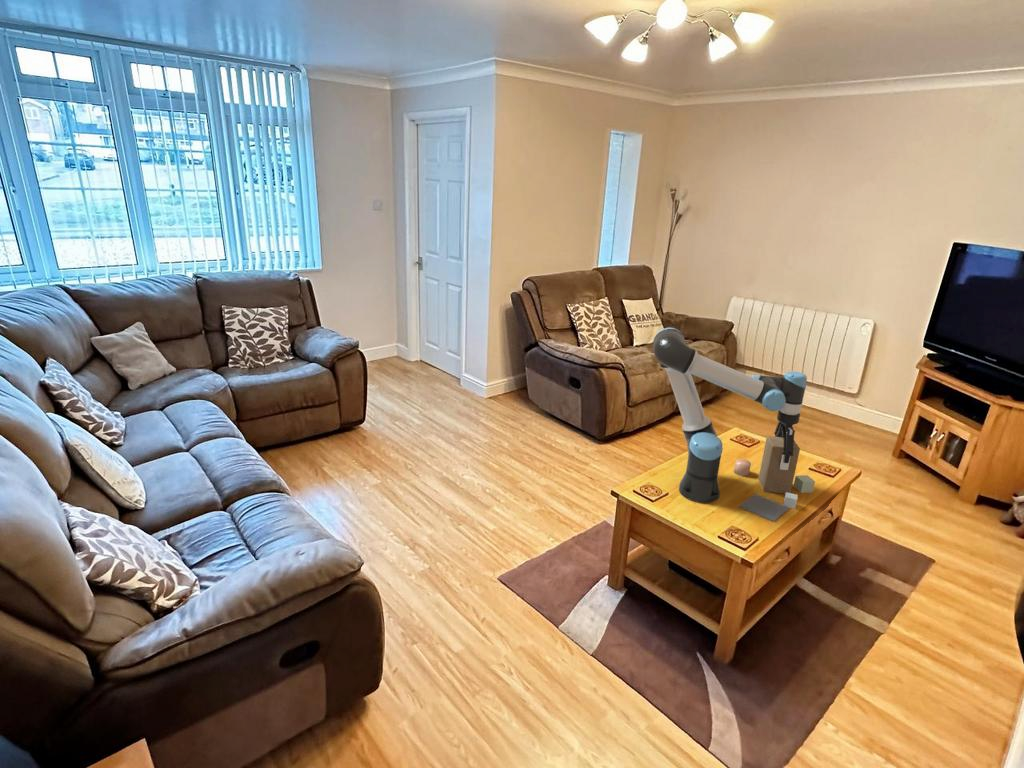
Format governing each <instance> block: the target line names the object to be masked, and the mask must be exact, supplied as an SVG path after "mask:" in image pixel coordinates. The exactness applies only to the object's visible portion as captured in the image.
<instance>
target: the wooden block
mask: <svg viewBox="0 0 1024 768" xmlns="http://www.w3.org/2000/svg"><path fill="white" fill-rule="evenodd" d="M800 451H801V450H800V447H799V445H798V444H797V442H796V441H795V440H794V447H793V456H791V457H790V462H789V467H788V470H782V469H780V465H781V460H782V453H784V438H783V437H775V436H773V435H772V436H771V435H767V436H766V437H765V443H764V448H763V452H762V457H761V458H762V459H761V463H760V469H759V474H758V482H759V483H760V485H761V488H762V491H763V492H768V493H775V494H784V495H785V494H786V492H787V493H791V492H792V487H793V485H794V480H795V474H796V470H797V464H798V459H799V456H800Z"/></svg>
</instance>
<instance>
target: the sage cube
mask: <svg viewBox="0 0 1024 768" xmlns="http://www.w3.org/2000/svg"><path fill="white" fill-rule="evenodd" d="M815 483H816V481H815V480H814V479H813V478H811V477H810V476H809V475H808V474H805V475H804V474H803V475H794V480H793V484H792V487H793V488H794V489H796V490H797V491H798V492H799V493H801V494H805V493H806V494H809V493H813V492H814V488H815Z"/></svg>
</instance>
